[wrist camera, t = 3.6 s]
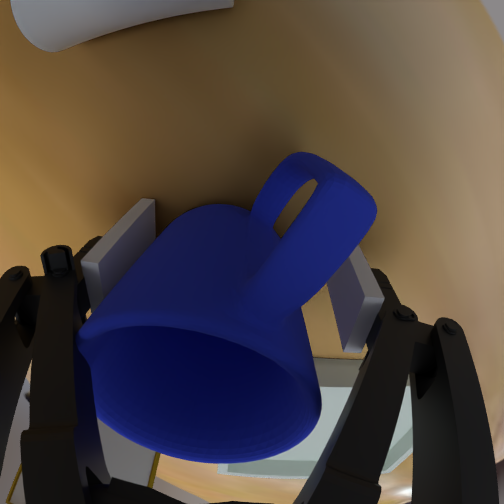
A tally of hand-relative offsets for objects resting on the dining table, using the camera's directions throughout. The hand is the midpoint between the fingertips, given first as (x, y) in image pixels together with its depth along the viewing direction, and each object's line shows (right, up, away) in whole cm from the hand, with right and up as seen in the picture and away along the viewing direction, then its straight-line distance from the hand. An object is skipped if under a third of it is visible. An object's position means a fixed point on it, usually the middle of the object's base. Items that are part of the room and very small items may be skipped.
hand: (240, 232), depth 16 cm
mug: (0, 0, 0) cm, 0 cm away
